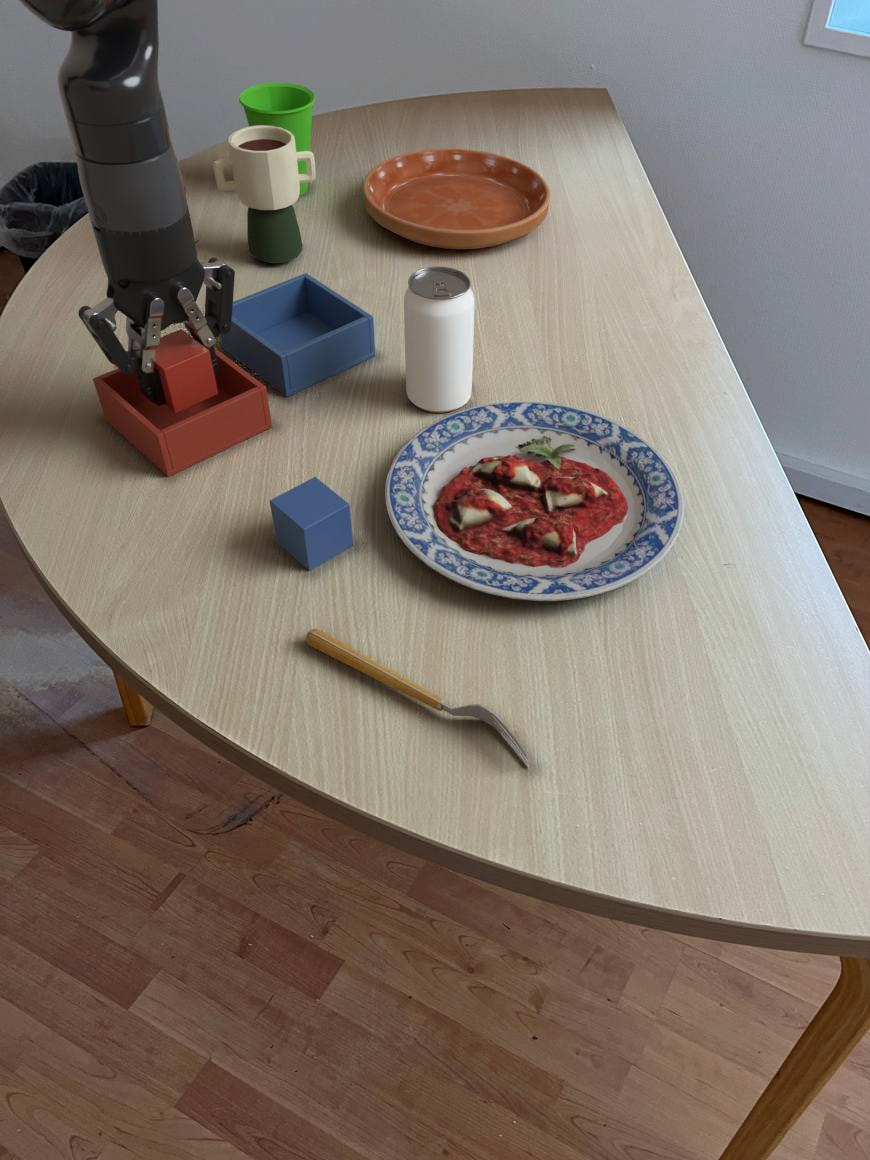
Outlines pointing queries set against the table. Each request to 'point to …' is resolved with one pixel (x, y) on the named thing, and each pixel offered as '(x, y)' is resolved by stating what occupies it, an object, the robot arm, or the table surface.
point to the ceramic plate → (534, 501)
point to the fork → (404, 683)
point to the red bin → (186, 417)
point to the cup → (282, 113)
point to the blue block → (312, 523)
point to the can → (439, 339)
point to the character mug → (267, 188)
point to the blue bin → (298, 334)
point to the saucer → (456, 197)
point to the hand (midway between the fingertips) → (182, 389)
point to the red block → (184, 371)
